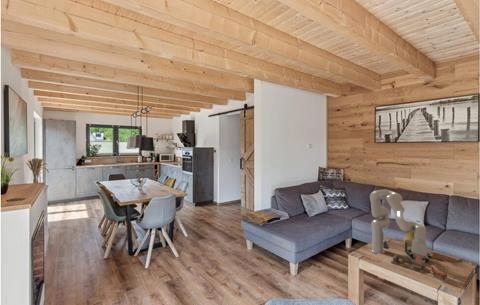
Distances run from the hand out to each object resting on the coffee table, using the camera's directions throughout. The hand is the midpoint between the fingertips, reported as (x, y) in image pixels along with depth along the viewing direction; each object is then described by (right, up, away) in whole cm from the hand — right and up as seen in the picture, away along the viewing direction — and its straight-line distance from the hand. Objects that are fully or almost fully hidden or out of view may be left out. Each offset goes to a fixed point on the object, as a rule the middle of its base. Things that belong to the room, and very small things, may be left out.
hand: (419, 260), depth 196 cm
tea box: (+9, -8, +18) cm, 22 cm away
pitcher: (+20, -7, +34) cm, 40 cm away
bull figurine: (+6, -9, -10) cm, 15 cm away
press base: (-5, -8, +6) cm, 12 cm away
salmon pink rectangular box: (0, -7, +1) cm, 7 cm away
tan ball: (-9, -7, +10) cm, 15 cm away
